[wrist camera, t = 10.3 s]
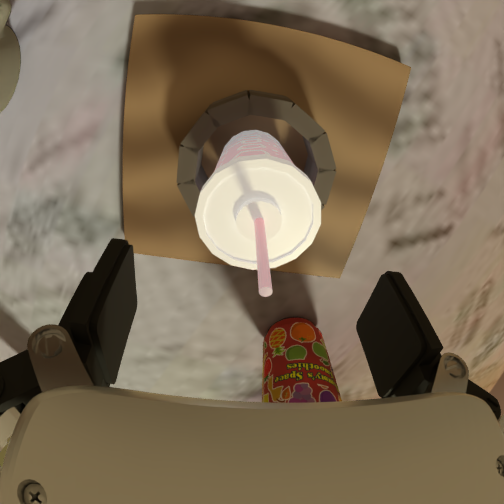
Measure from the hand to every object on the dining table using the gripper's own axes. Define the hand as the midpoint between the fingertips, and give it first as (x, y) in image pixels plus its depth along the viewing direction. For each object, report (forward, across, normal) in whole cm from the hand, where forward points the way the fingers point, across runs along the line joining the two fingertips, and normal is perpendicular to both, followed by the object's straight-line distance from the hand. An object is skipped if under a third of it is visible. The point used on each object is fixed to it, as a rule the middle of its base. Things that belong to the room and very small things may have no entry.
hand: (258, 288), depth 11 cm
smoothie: (+16, -8, +19) cm, 26 cm away
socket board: (+15, 0, -1) cm, 15 cm away
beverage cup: (+14, 0, 0) cm, 14 cm away
